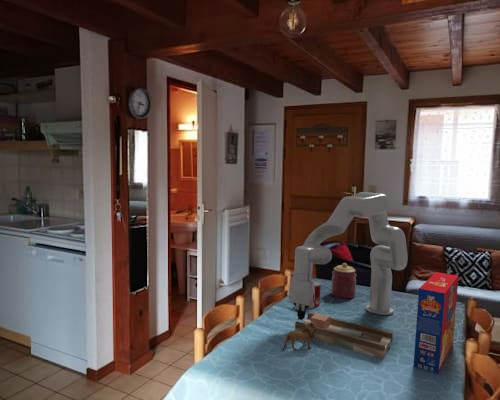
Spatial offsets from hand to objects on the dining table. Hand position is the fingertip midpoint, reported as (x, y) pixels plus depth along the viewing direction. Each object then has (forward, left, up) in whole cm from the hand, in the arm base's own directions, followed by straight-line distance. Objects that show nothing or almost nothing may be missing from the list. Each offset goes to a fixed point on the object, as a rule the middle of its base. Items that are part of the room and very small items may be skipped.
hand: (301, 318), depth 164 cm
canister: (-54, +1, -4) cm, 54 cm away
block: (0, +9, -1) cm, 9 cm away
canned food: (-30, -7, -4) cm, 31 cm away
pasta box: (-7, +51, -4) cm, 51 cm away
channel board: (0, +18, -4) cm, 18 cm away
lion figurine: (+16, +7, -4) cm, 18 cm away
